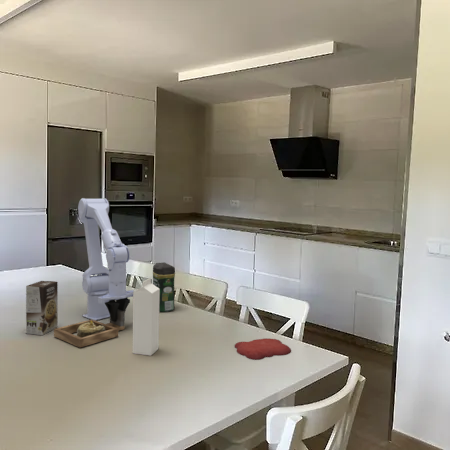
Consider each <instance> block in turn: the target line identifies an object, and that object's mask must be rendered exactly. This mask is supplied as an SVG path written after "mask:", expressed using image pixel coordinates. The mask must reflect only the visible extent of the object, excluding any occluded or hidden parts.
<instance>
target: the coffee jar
mask: <svg viewBox="0 0 450 450" xmlns="http://www.w3.org/2000/svg"><path fill="white" fill-rule="evenodd" d="M175 269H176V268H175V267H174V266H173V265H171V264H168V263H167V262H156V263H155V264H154V265H153V267H152V284H153V285H155V286H156V287H158V288H159V289H160V296H159V313H160V312H162V313H168V312H171V311H174V310H175V276H176V270H175Z"/></svg>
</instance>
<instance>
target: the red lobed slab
mask: <svg viewBox="0 0 450 450" xmlns="http://www.w3.org/2000/svg"><path fill="white" fill-rule="evenodd" d="M234 348H235V349H236V353H237V354H238V355H240V356H244V357H246V358H247V359H248V360H252V361H253V360H254V361H259V360H260V361H261V360H263V359H265V358H272V357H274V356H278V357H279V356H287V355H289V354H291V352H292V348H290V347H289V345H287V344H284V343H283V342H282V341H281V340H279V339H276V338H264V337H263V338H260V339H259V338H258V339H257V338H256V339H253V340H250V341H249V340H248V341H239V342H235V344H234Z"/></svg>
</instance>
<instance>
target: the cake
mask: <svg viewBox="0 0 450 450" xmlns="http://www.w3.org/2000/svg"><path fill="white" fill-rule="evenodd" d="M103 331H106V330H105V327H104V326H98V327H96V325H94V323H93V322H92V321H90V323H89V322H88V323H85V324H82V325H80V326H79V327H78V330H77V332H76V336H78V337H81V338H82V337H86V336H89V335H93V334H96V333H100V332H103Z"/></svg>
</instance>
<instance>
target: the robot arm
mask: <svg viewBox="0 0 450 450" xmlns="http://www.w3.org/2000/svg"><path fill="white" fill-rule="evenodd" d="M77 205H78V206H77V209H78V211H77V212H78V218H79V222H80V223H82V224H83V228H84V235H85V244H86V249H87V250H86V251H87V252H86V253H87V258H88V265H89V266H88V268H87V269H86V270H85V271H84V272H83V274H82V281H81V284H82V290H83V292H84V293H85V294H87V295H86V296H87V301H86V302H87V304H86V305H87V310H86V311H87V313H86V314H85V313H84V314H82V317H84V318H87V319H88V320H91V319H92V320H95V321H99V320H102V319H106V318H110V317H111V321H113V322H116V321H117V310H118V309H119V310H122V311H125V312H126V310H127V308H128V306H129V304H130V303H131V299H130V298H131V297H132V298H133V292H134V291H135V290H133V289H131V290H127V263H128V262H129V261H130V250H129V247H128V246H127V245H125V244H124V243H123V242H122V241H121V239H120V238H121V237H120V235H119V233H118V231H117V230H116V229H114V228H113V227H112V223H111V219H110V217H109V212H110V202H109V200H108V199H107V198H104V197H103V198H85V197H82V198H81V199H80V200H79V202H78V204H77ZM99 229H100V230H101V232H102V234H101V235H100V232H99V231H100V230H99ZM100 238H101V239H100ZM101 240H102V244H103V245H104V248H105V250H106V254H105V258H106V262H107V267H105V266H104V264H103V262H104V261H103V256H102V248H101Z"/></svg>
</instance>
